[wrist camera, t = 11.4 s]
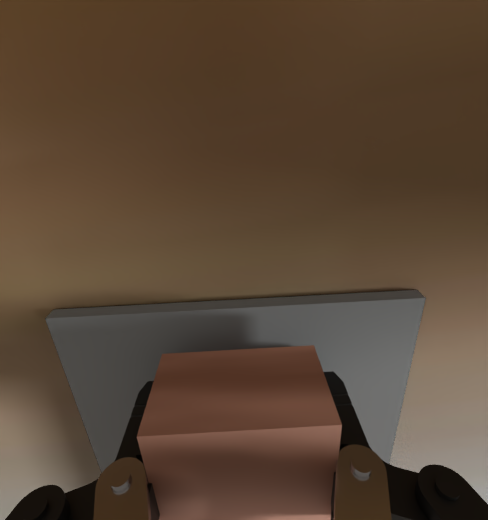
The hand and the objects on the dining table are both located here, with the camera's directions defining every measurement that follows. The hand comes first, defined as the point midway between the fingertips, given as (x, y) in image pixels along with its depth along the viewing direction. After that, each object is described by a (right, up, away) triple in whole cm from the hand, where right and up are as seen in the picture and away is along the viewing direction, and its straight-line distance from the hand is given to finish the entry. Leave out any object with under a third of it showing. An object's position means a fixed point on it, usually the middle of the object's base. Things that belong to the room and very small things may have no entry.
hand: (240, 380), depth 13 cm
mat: (0, -5, +3) cm, 6 cm away
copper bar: (0, -5, +1) cm, 5 cm away
